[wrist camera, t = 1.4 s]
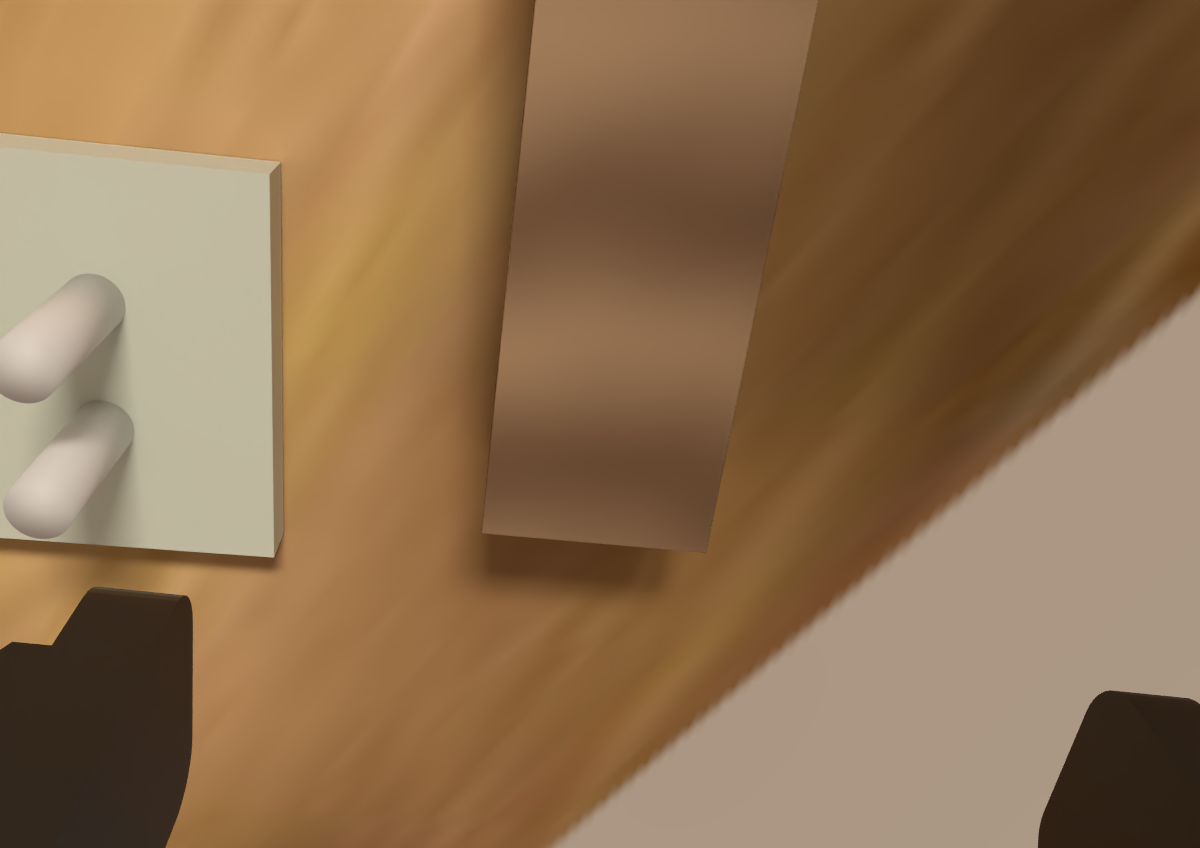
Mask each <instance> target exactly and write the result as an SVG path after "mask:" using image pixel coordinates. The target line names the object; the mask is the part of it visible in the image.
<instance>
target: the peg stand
mask: <svg viewBox="0 0 1200 848" xmlns="http://www.w3.org/2000/svg"><path fill="white" fill-rule="evenodd" d="M283 534H284V505H283V372H282V240H281V162H277V161H267V160H257V159H248V158H238V157H228V156H219V155H209V154H199V153H189V152H180V151H170V150H160V149H151V148H141V147H131V146H121V145H112V144H102V143H92V142H83V141H73V140H63V139H54V138H44V137H34V136H24V135H15V134H5V133H0V538H9V539H23V540H37V541H51V542H65V543H79V544H93V545H106V546H120V547H134V548H148V549H162V550H176V551H190V552H204V553H218V554H232V555H246V556H260V557H274V556H275V554H276V551H277V549H278V546H279V544H280V541H281V539H282V536H283Z"/></svg>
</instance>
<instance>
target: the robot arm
mask: <svg viewBox="0 0 1200 848" xmlns="http://www.w3.org/2000/svg"><path fill="white" fill-rule="evenodd" d="M192 677H193V616H192V606H191V602H190V600H189V598H188V597H187V596H184V595H174V594H164V593H154V592H144V591H134V590H124V589H114V588H104V587H93V588H91V589H90V590H89V591H88V592H87V593H86V594H85V596H84V597H83V598H82V600H81V601H80V603H79V604H78V606H77V607H76V609H75V611H74V612H73V614H72V615H71V617H70V618H69V620H68V621H67V623H66V624H65V626H64V628H63V629H62V631H61V632H60V634H59V635H58V637H57V638H56V640H55V641H54V643H53V644H52V646H51V645H40V644H29V643H19V642H11V643H10V644H8V645H7V646H5V647H4V648H2V649H1V650H0V848H165V847H166V844H167V842H168V839H169V837H170V834H171V832H172V829H173V826H174V824H175V821H176V819H177V816H178V813H179V810H180V807H181V804H182V800H183V796H184V792H185V788H186V783H187V778H188V773H189V767H190V759H191V750H192ZM1038 848H1200V704H1199V703H1197V702H1196V701H1194V700H1191V699H1189V698H1179V697H1170V696H1160V695H1150V694H1140V693H1130V692H1120V691H1105V692H1103V693H1101V694H1099V695H1098V696H1097V697H1096V698H1095V699H1094V700H1093V702H1092V703H1091V704H1090V706H1089V708H1088V710H1087V712H1086V714H1085V716H1084V719H1083V721H1082V723H1081V726H1080V728H1079V730H1078V733H1077V735H1076V738H1075V740H1074V742H1073V745H1072V747H1071V749H1070V752H1069V754H1068V756H1067V759H1066V761H1065V764H1064V766H1063V768H1062V771H1061V773H1060V775H1059V778H1058V780H1057V782H1056V785H1055V787H1054V790H1053V792H1052V794H1051V797H1050V799H1049V802H1048V804H1047V806H1046V808H1045V811H1044V813H1043V816H1042V819H1041V824H1040V828H1039V839H1038Z"/></svg>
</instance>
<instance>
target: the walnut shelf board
mask: <svg viewBox="0 0 1200 848" xmlns="http://www.w3.org/2000/svg"><path fill="white" fill-rule="evenodd" d="M817 5H818V0H535V1H534V11H533V21H532V31H531V41H530V51H529V61H528V71H527V81H526V90H525V100H524V110H523V120H522V130H521V140H520V150H519V160H518V170H517V180H516V190H515V200H514V209H513V219H512V229H511V239H510V249H509V259H508V269H507V279H506V289H505V299H504V309H503V318H502V328H501V338H500V348H499V358H498V368H497V378H496V388H495V398H494V408H493V418H492V428H491V437H490V447H489V459H488V470H487V481H486V492H485V504H484V515H483V526H482V533H485V534H496V535H507V536H519V537H530V538H542V539H553V540H564V541H576V542H587V543H599V544H610V545H621V546H633V547H644V548H656V549H667V550H678V551H690V552H701V553H706V551H707V546H708V541H709V536H710V531H711V526H712V521H713V516H714V511H715V507H716V502H717V497H718V492H719V487H720V482H721V477H722V472H723V467H724V462H725V457H726V452H727V447H728V443H729V438H730V433H731V428H732V423H733V418H734V413H735V408H736V403H737V398H738V393H739V388H740V384H741V379H742V374H743V369H744V364H745V359H746V354H747V349H748V344H749V339H750V334H751V329H752V325H753V320H754V315H755V310H756V305H757V300H758V295H759V290H760V285H761V280H762V275H763V270H764V266H765V261H766V256H767V251H768V246H769V241H770V236H771V231H772V226H773V221H774V216H775V211H776V206H777V202H778V197H779V192H780V187H781V182H782V177H783V172H784V167H785V162H786V157H787V152H788V147H789V143H790V138H791V133H792V128H793V123H794V118H795V113H796V108H797V103H798V98H799V93H800V88H801V84H802V79H803V74H804V69H805V64H806V59H807V54H808V49H809V44H810V39H811V34H812V29H813V25H814V20H815V15H816V10H817Z"/></svg>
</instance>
